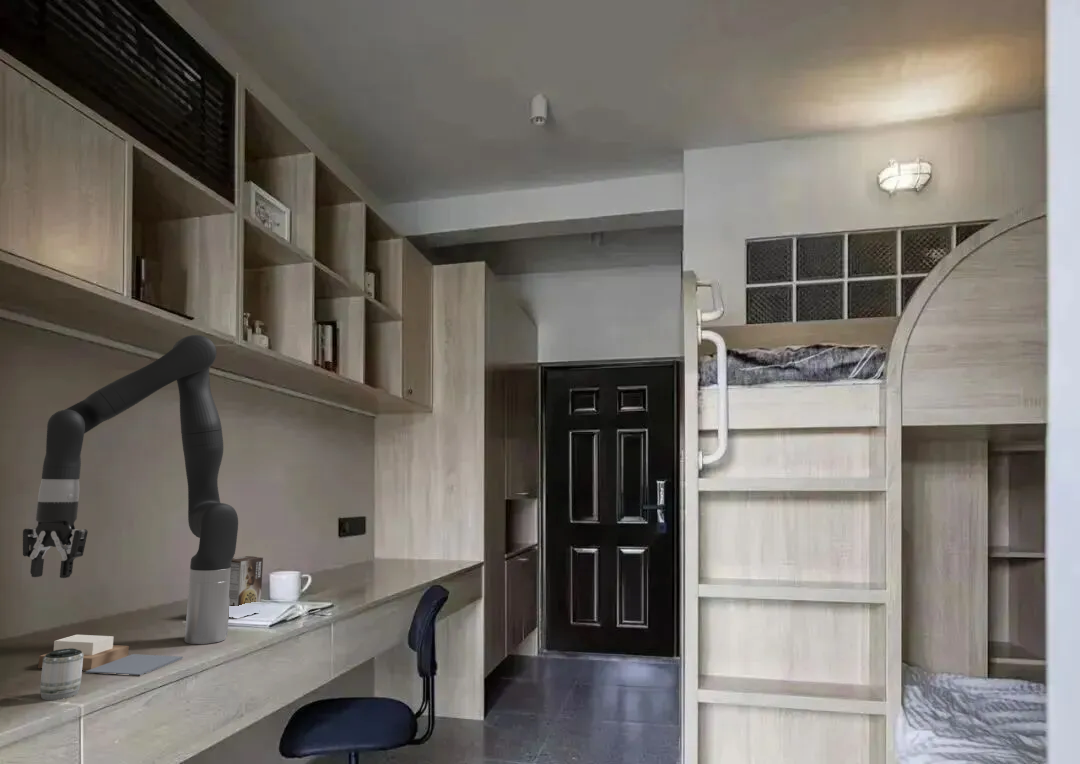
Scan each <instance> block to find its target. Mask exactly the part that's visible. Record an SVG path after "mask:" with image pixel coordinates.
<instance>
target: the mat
mask: <svg viewBox="0 0 1080 764" xmlns="http://www.w3.org/2000/svg"><path fill="white" fill-rule="evenodd" d="M182 658H184V657H183V656H178V655H156V654H139V653H132V654H128V656H126V657H123V658H121V659H118V660H115V661H112V662H110V663H107V664H104V665H101V666H99V667H96V668H93V669H90V670H88V671H84V673H85V674H90V673H116V674H129V675H142V674H144V673H146V674H148V673H147V672H149V673H151V672H153V671H152V670H154V671H156V670H158V669H157V668H159V669H161V668H163V667H165V665H166V666H168V665H170V663H171V664H173V663H175V662H177V660H178V661H179V660H183V659H182ZM167 664H168V665H167ZM162 666H163V667H162ZM160 667H161V668H160ZM155 669H156V670H155ZM150 671H151V672H150ZM144 675H145V674H144ZM142 676H143V675H142Z"/></svg>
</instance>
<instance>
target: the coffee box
mask: <svg viewBox="0 0 1080 764" xmlns="http://www.w3.org/2000/svg"><path fill="white" fill-rule="evenodd" d="M263 565H264V557H258V556H253V555H250V556H249V555H248V556H240V557H239V556H238V557H233V559H232V562H231V571H230V587H229V598H230V604H229V606H239V605H242V604H245V603H251V602H261V603H262V589H263V588H262V586H263V567H264V566H263Z"/></svg>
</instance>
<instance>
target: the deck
mask: <svg viewBox="0 0 1080 764" xmlns="http://www.w3.org/2000/svg"><path fill="white" fill-rule="evenodd" d="M129 649H130V646H129V645H120V644H119V645H117V644H113V648H112V649H109V650H106V651H103V652H100V653H97V654H94V655H84V656H83V666H82V670H90V669H93V668H96V667H99V666H101V665H104V664H107V663H110V662H112V661H115V660H118V659H121V658H123V657H126V656H129V651H130V650H129ZM51 652H52V651H50V652H47V653H44V654H42V655H39V657H38V664H37V668H38V669H40V668H42V664H43V658H44V657H45V655H47V654H48V653H51Z"/></svg>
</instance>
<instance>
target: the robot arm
mask: <svg viewBox="0 0 1080 764" xmlns="http://www.w3.org/2000/svg"><path fill="white" fill-rule="evenodd" d="M216 358H217V348H216V345H215V343H214V342H213V341H212V340H211V339H210V338H209V337H206V336H204V335H201V334H190V335H187V336H185V337H182V338H180V339H179V340H178V341H176V342H175V343H174V344H173V347H172V348H171V349H170V350H169V351H168V352H166V353H165V354H164V355H163V356H160V357H159V358H157V359H156V360H154V361H153V362H150V363H148V364H147V365H145V366H143V367H141V368H139V369H137V370H135V371H132V372H131V373H128V374H126V375H124V376H122V377H120V378H118V379H115V380H114V381H112V382H111V383H108V384H106V385H105V386H103V387H102V388H99V389H98V390H96V391H94V392H92V393H91V394H89V395H88V396H86V398H84V399H83V400H81V401H79V402H76V403H75V404H73V405H71V406H69V407H67V408H65V409H62V410H59V411H56V412H55V413H53V414H52V415H51V416H50V417H49V418H48V422H47V424H46V425H47V426H46V439H45V440H46V443H45V456H44V459H43V465H42V473H41V482H40V485H39V490H38V497H37V507H36V514H35V515H36V516H35V521H36V522H37V526H36V528H35V527H31V528H30V527H29V528H24V529H23V530H22V556H23V557H28V558H30V560H31V561H30V562H31V563H30V571H29V572H30V575H31V577H32V578H38V577H39V578H41V577H42V576H43V572H44V561H45V559H44V557H45V555H46V553H47V551H48V550H50V549H51V547H52V548H53V547H54V548H56V550H57V552H58V553H59V554H60V556H61V561H60V570H59V578H60V579H67V578H71V575H72V574H73V570H74V569H73V568H74V567H73V566H74V560H75V559H77V558H80V557H82V556H84V551H85V547H86V543H87V537H88V530H87V529H77V528H76V525H75V522H76V521H77V519H78V513H79V512H78V511H79V509H78V508H79V500H80V498H79V497H80V477H81V466H82V465H81V464H82V463H81V462H82V461H81V460H82V458H81V454H82V448H83V442H84V437H85V434H86V433H88V432H90V431H91V430H93V429H95V428H96V427H97V426H99V425H100V424H102V423H104V422H107V421H109V420H111V419H113V418H114V417H116V416H118V415H120V414H121V413H123V412H126V411H127V410H128V409H130V408H132V407H133V406H135V405H137V404H138V403H140V402H141V401H143V400H145V399H146V398H148V397H149V396H152V395H153V394H154V393H156V392H157V391H159V390H161V389H162V388H164V387H166V386H167V385H170V384H171V383H173V382H175V381H176V383H177V388H178V394H179V395H178V396H179V418H180V419H179V421H180V435H181V441H182V442H181V443H182V444H181V445H182V451H183V456H184V464H185V465H184V467H185V475H186V481H187V492H188V493H187V498H188V499H187V502H188V503H187V506H188V510H187V516H188V517H187V518H188V519H187V522H188V527H189V530H190V531H191V533H192V534H193V535H194V536H195V537H197V538H199V543H198V548H197V549H198V550H197V552H196V553H195V555H193V556H192V557H191V558H190V567H189V578H188V581H189V582H188V592H187V593H188V595H187V605H186V618H185V630H184V642H185V643H186V644H190V645H191V644H192V645H206V644H207V645H208V644H213V643H219V642H222V641H224V640H226V639H227V637H228V632H229V631H228V630H229V629H228V628H229V619H230V618H229V604H230V598H229V587H230V571H231V562H232V559H233V558H235V555H236V548H237V543H238V541H237V540H238V531H239V518H238V517H239V516H238V513H237V511H236V509H235V508H234V507H233V506H232V505H230V504H228V503H224V502H221V500H220V493H219V487H218V485H219V484H218V481H219V480H218V478H219V473H220V468H221V464H222V461H223V455H224V437H223V430H222V429H223V427H222V424H221V423H222V422H221V418H220V415H219V412H218V410H217V406H216V404H215V400H214V397H213V395H212V390H211V384H210V383H211V382H210V380H211V379H210V368H211V367H212V365H213V364H214V362H215V360H216Z"/></svg>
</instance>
